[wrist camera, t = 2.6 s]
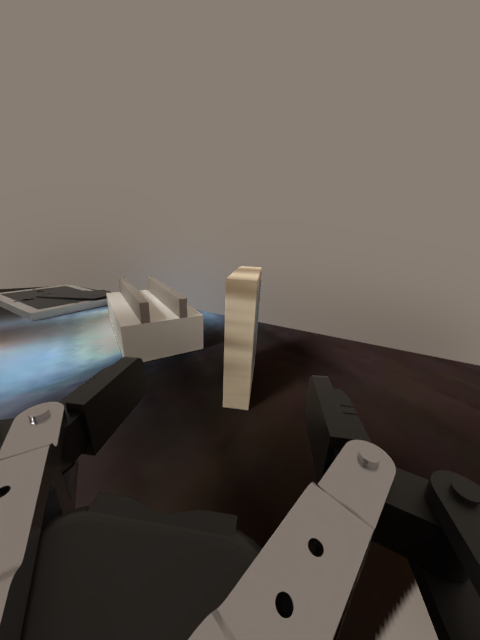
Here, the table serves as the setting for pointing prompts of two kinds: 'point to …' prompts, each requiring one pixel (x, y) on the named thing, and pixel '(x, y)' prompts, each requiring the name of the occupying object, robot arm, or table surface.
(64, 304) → the picture frame
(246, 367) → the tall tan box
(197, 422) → the table surface
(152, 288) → the picture ledge
